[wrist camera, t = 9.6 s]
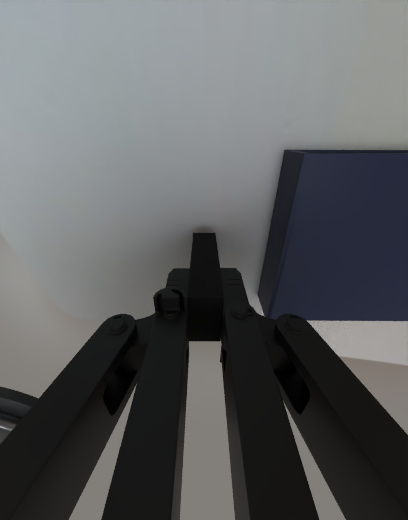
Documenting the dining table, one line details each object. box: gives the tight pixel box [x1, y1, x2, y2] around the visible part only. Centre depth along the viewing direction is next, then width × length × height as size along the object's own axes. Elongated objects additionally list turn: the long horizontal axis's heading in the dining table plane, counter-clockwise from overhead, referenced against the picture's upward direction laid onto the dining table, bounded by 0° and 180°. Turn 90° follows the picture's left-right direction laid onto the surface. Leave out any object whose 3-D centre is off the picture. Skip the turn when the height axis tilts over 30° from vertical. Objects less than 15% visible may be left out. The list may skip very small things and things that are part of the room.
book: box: [258, 150, 408, 321], centre depth 15 cm, size 16×12×3 cm
